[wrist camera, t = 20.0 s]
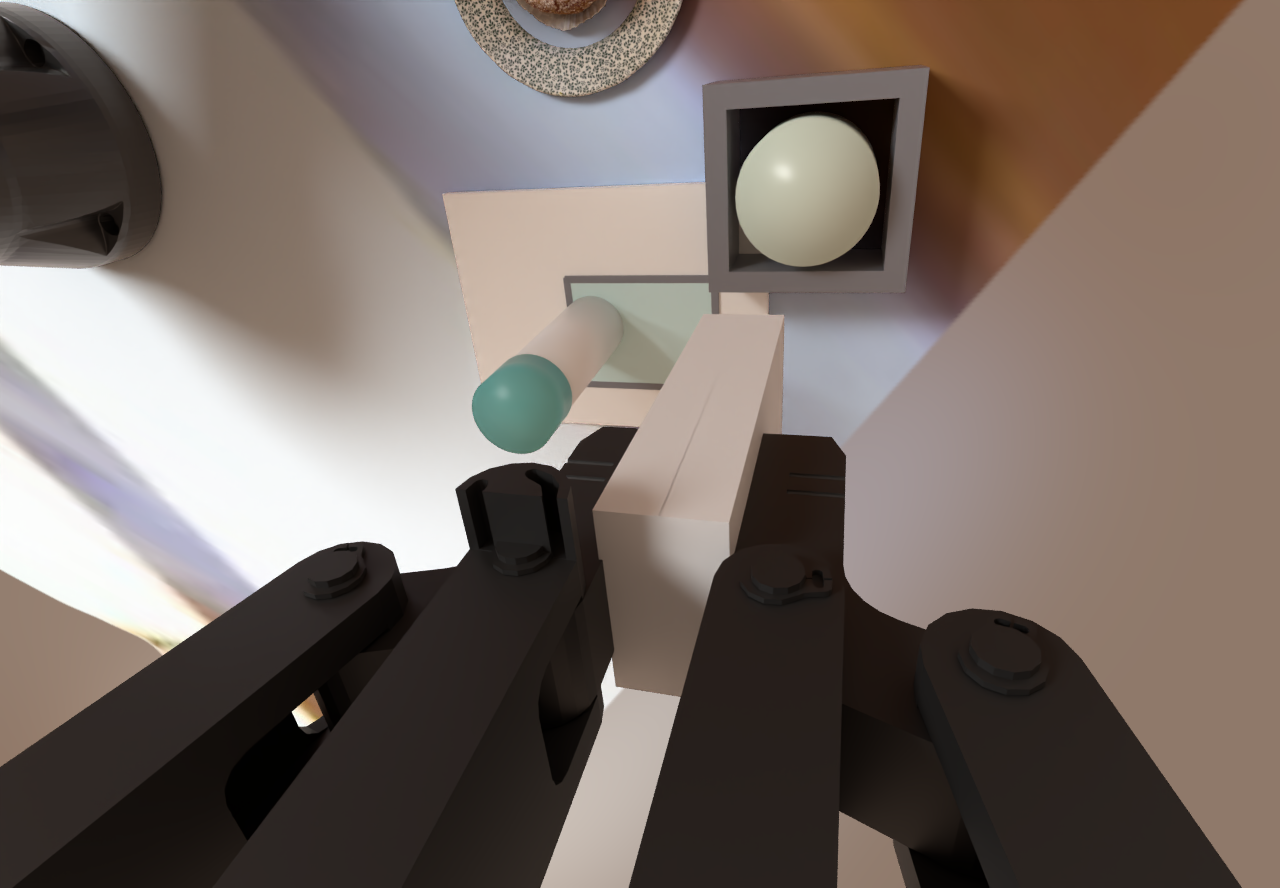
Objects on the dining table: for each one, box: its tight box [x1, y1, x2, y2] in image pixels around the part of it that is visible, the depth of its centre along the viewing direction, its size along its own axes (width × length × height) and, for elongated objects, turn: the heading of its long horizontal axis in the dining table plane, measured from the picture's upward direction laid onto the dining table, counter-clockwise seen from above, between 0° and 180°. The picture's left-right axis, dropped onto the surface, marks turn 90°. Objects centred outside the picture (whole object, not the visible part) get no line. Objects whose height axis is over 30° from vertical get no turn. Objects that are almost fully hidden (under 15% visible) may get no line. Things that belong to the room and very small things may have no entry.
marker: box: [472, 296, 624, 454], centre depth 35 cm, size 4×4×12 cm
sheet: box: [442, 182, 769, 427], centre depth 40 cm, size 18×14×1 cm
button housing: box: [702, 65, 930, 293], centre depth 32 cm, size 9×9×4 cm
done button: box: [735, 111, 880, 267], centre depth 31 cm, size 6×6×4 cm
